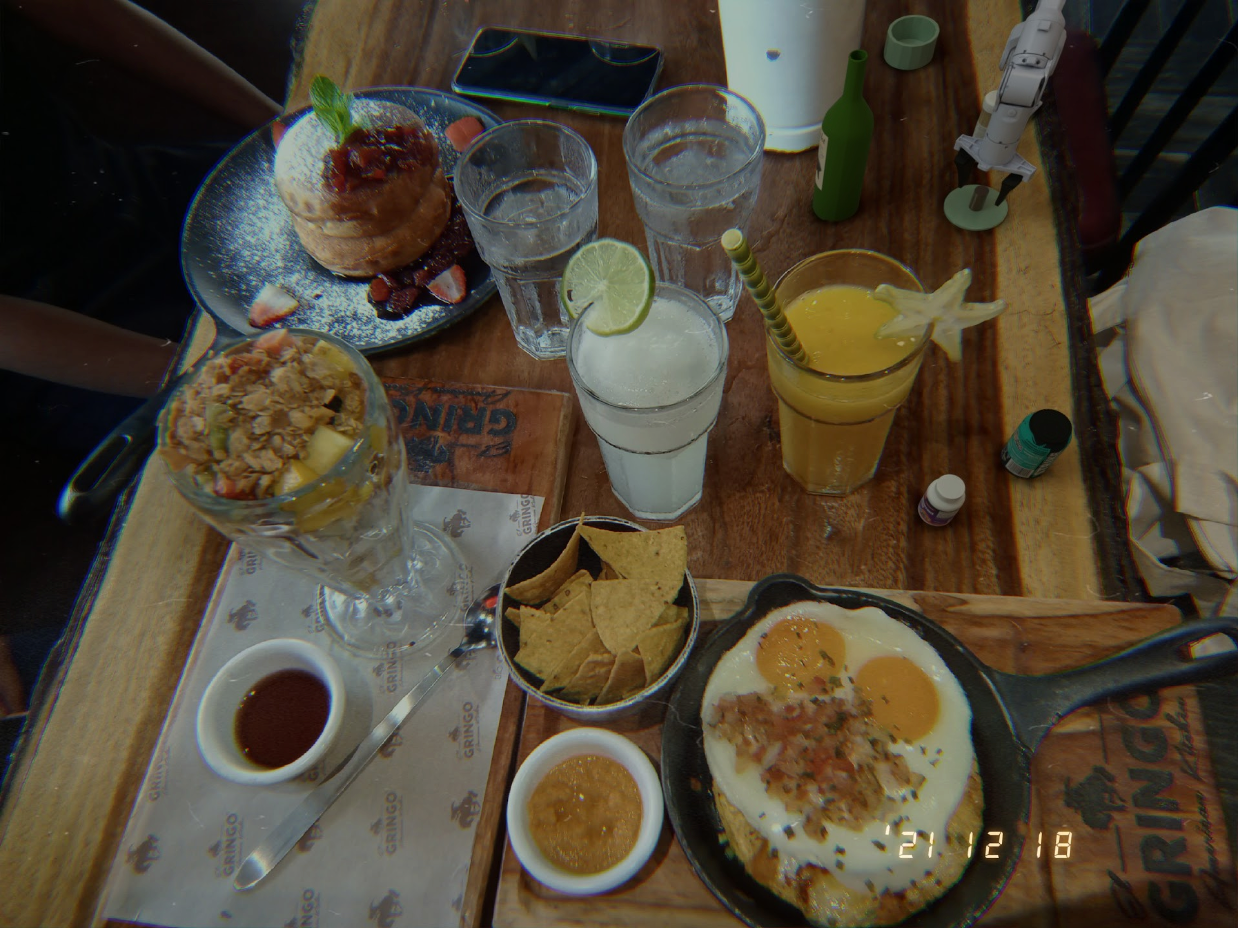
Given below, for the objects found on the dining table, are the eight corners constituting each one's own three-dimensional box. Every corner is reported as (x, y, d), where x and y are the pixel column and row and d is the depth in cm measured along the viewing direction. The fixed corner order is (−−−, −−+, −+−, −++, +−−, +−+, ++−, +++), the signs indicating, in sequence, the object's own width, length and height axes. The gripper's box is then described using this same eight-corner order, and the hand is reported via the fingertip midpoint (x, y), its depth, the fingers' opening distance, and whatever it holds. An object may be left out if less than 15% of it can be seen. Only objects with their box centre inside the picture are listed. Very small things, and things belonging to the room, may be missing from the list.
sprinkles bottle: (994, 156, 146) (1017, 97, 134) (977, 168, 145) (998, 109, 133) (977, 145, 148) (998, 85, 136) (960, 156, 147) (979, 97, 135)
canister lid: (965, 180, 144) (972, 159, 140) (1018, 206, 140) (1027, 185, 135) (930, 215, 142) (936, 195, 137) (983, 242, 137) (991, 223, 133)
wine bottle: (808, 194, 149) (824, 43, 120) (852, 186, 148) (879, 32, 119) (817, 226, 145) (836, 78, 116) (863, 218, 144) (894, 67, 115)
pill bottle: (913, 498, 117) (927, 472, 109) (947, 493, 117) (964, 467, 108) (922, 529, 115) (937, 505, 106) (957, 524, 115) (975, 500, 106)
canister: (902, 33, 165) (907, 9, 160) (943, 49, 161) (949, 25, 156) (874, 59, 163) (878, 35, 158) (914, 76, 159) (919, 52, 154)
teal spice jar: (1046, 445, 118) (1076, 407, 107) (1046, 484, 115) (1078, 449, 105) (999, 439, 120) (1024, 402, 109) (998, 477, 117) (1024, 443, 106)
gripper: (952, 129, 127) (934, 189, 139) (1029, 164, 121) (1003, 224, 133) (976, 106, 128) (956, 167, 140) (1054, 139, 122) (1025, 201, 135)
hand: (980, 193), depth 137 cm, fingers open, 7 cm apart
